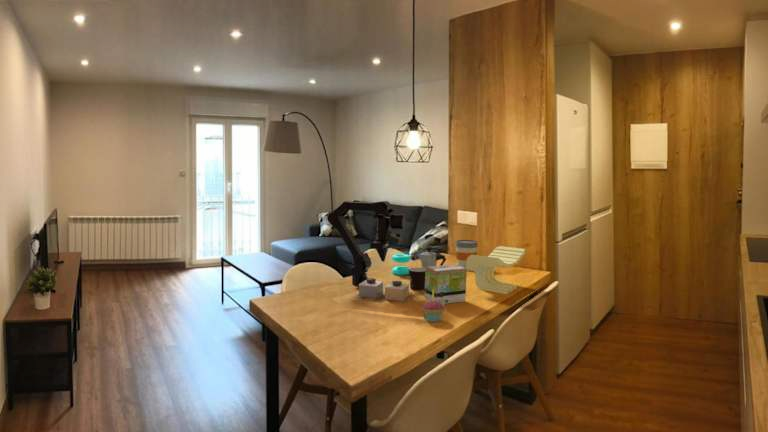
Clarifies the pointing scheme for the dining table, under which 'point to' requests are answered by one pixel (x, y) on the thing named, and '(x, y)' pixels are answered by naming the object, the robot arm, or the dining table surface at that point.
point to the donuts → (401, 259)
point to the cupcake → (433, 309)
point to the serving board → (382, 298)
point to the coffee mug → (417, 278)
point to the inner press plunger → (371, 280)
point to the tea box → (445, 283)
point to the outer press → (396, 292)
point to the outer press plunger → (397, 283)
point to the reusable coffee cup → (465, 251)
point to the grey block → (371, 289)
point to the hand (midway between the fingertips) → (383, 261)
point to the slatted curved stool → (487, 264)
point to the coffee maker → (430, 258)
